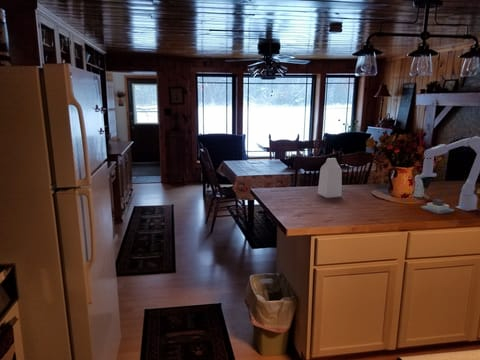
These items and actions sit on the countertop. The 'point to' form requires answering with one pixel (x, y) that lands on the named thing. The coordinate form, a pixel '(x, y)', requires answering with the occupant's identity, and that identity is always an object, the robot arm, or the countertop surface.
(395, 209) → the countertop surface
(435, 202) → the plug
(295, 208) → the countertop surface
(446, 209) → the socket plate
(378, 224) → the countertop surface
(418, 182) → the syrup box
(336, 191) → the milk
